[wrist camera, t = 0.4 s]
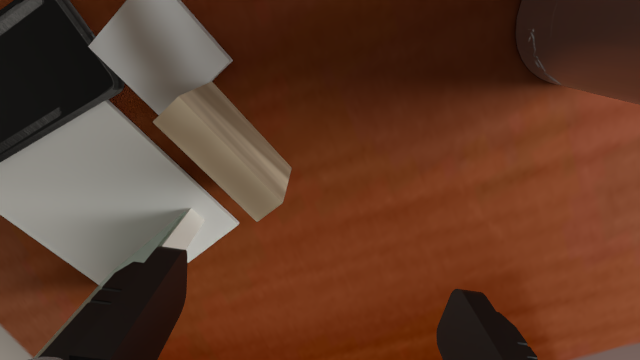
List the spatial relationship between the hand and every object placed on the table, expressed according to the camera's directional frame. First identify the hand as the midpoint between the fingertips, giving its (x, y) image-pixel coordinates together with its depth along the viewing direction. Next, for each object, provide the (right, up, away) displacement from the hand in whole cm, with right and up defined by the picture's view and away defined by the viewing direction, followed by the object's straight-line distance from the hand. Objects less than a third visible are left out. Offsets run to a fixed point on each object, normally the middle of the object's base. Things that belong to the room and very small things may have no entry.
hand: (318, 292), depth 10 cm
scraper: (-9, +10, +15) cm, 20 cm away
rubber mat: (-19, +1, +19) cm, 27 cm away
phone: (-23, +11, +15) cm, 29 cm away
